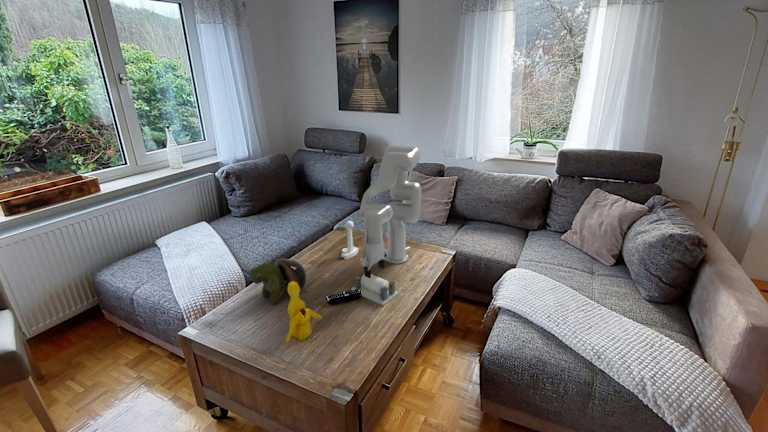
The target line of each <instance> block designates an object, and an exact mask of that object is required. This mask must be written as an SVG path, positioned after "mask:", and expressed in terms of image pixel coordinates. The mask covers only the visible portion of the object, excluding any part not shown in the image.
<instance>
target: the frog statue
mask: <svg viewBox="0 0 768 432" xmlns="http://www.w3.org/2000/svg"><path fill="white" fill-rule="evenodd" d="M250 274H251V275H252V282H253V283H254V284H260V283H262V284H263V285H262V286H263V287H262V289H261V296H262V297H264V298H265V297H267V296H269V295H270V297H269V299H270V303H271V304H272V305H276V304H277V303H278V302H279V301H280V300H281V299H282V297H283V295H284V294H285V291H286V290H287V289H288V283H290V282H292V281H294V282H297V284H298V285H299V288H300V292H301V291H302V290H303V289H304V288H305V287H306V283H307V271H306V269H305V267H304V266H303V265H302V264H301V262H299V261H297V260H294V259H288V258H277V259H276V261H275V263H270V262H269V263H268V262H266V263H261V264H260V265H258V266H257V267H256V268H251V269H250Z"/></svg>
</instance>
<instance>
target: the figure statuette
mask: <svg viewBox="0 0 768 432" xmlns="http://www.w3.org/2000/svg"><path fill="white" fill-rule="evenodd" d="M286 290H287V293H288V295H289V297H290V300H289V302H288V305H287V306H288V307H287V313H288V315H289V324H288V326H289V328H288V329H289V331H288V334H287V336H286V339H285V343H288V342H289V341H290V339H291V338H292V337H294V338H297V339H298V341H305V340H306V339H307V338H309V336H310V335H311V334H312V332H313V331H312V326H311V323H310V320H311V317H312V318H314V319H316V320H321V319H322V318H323V317H322V316H321V315H320V314H318V313H316V312H315V311H313V310H312V309H310V308H306V303H305V301H303V300H302V299H301V298H300V292H301V291H300V288H299V285H298V284H297V282H294V281H292V282H290V283H288V288H286Z"/></svg>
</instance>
